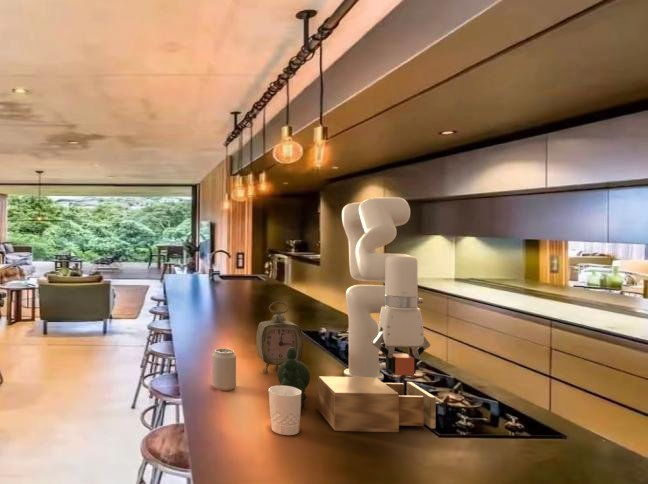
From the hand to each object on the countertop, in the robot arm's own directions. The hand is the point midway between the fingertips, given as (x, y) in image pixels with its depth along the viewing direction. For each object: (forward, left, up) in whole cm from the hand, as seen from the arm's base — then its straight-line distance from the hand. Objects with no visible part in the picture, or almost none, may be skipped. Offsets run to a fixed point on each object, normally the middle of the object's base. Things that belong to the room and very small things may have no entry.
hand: (401, 371), depth 125 cm
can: (+25, -44, -13) cm, 52 cm away
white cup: (+31, -10, -13) cm, 35 cm away
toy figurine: (+15, -24, -13) cm, 31 cm away
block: (0, 0, 0) cm, 0 cm away
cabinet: (+10, -6, -13) cm, 18 cm away
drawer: (0, 0, -12) cm, 12 cm away
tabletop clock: (-3, -50, -13) cm, 52 cm away
